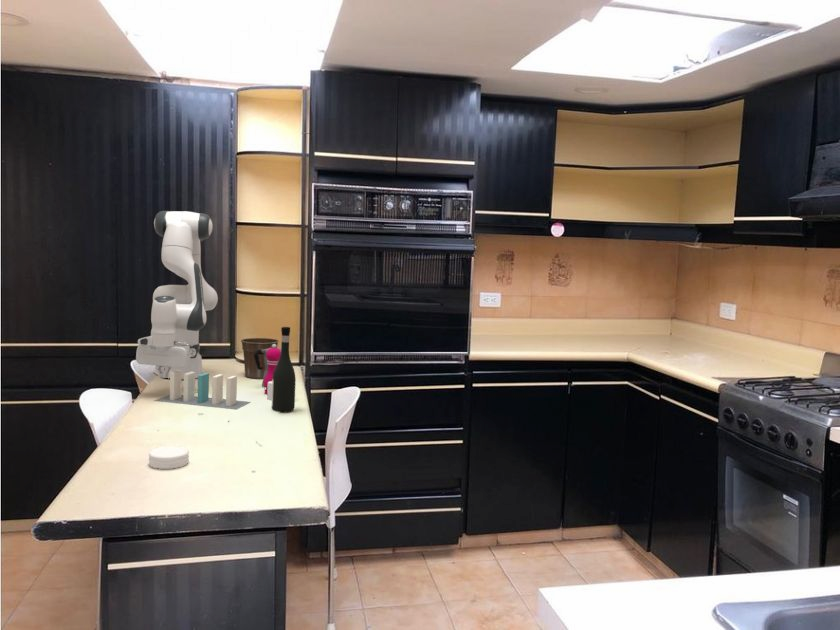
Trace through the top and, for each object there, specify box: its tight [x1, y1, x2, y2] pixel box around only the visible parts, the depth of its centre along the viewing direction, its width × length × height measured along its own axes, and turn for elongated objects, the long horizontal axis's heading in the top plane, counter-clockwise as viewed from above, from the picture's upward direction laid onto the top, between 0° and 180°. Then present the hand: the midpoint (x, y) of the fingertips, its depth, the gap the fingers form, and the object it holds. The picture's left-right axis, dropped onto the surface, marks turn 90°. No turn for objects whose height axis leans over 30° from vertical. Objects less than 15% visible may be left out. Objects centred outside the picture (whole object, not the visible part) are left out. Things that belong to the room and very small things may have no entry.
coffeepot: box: [254, 343, 281, 388], centre depth 275 cm, size 15×9×18 cm, turn 129°
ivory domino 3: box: [211, 373, 224, 405], centre depth 242 cm, size 2×5×10 cm, turn 169°
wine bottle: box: [271, 326, 297, 413], centre depth 237 cm, size 8×8×30 cm
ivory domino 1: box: [169, 370, 182, 400], centre depth 245 cm, size 2×5×10 cm, turn 169°
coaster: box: [148, 445, 190, 470], centre depth 178 cm, size 10×10×4 cm
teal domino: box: [197, 372, 210, 403], centre depth 243 cm, size 2×5×10 cm, turn 169°
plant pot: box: [240, 337, 280, 380], centre depth 293 cm, size 16×16×16 cm
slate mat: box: [153, 394, 251, 411], centre depth 243 cm, size 32×12×1 cm, turn 79°
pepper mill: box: [263, 344, 281, 395], centre depth 261 cm, size 7×7×20 cm
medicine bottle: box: [266, 371, 274, 402], centre depth 252 cm, size 7×7×12 cm
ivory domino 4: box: [225, 375, 238, 406], centre depth 241 cm, size 2×5×10 cm, turn 169°
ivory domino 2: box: [182, 372, 196, 402], centre depth 244 cm, size 2×5×10 cm, turn 170°
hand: (163, 377), depth 245 cm, fingers closed
